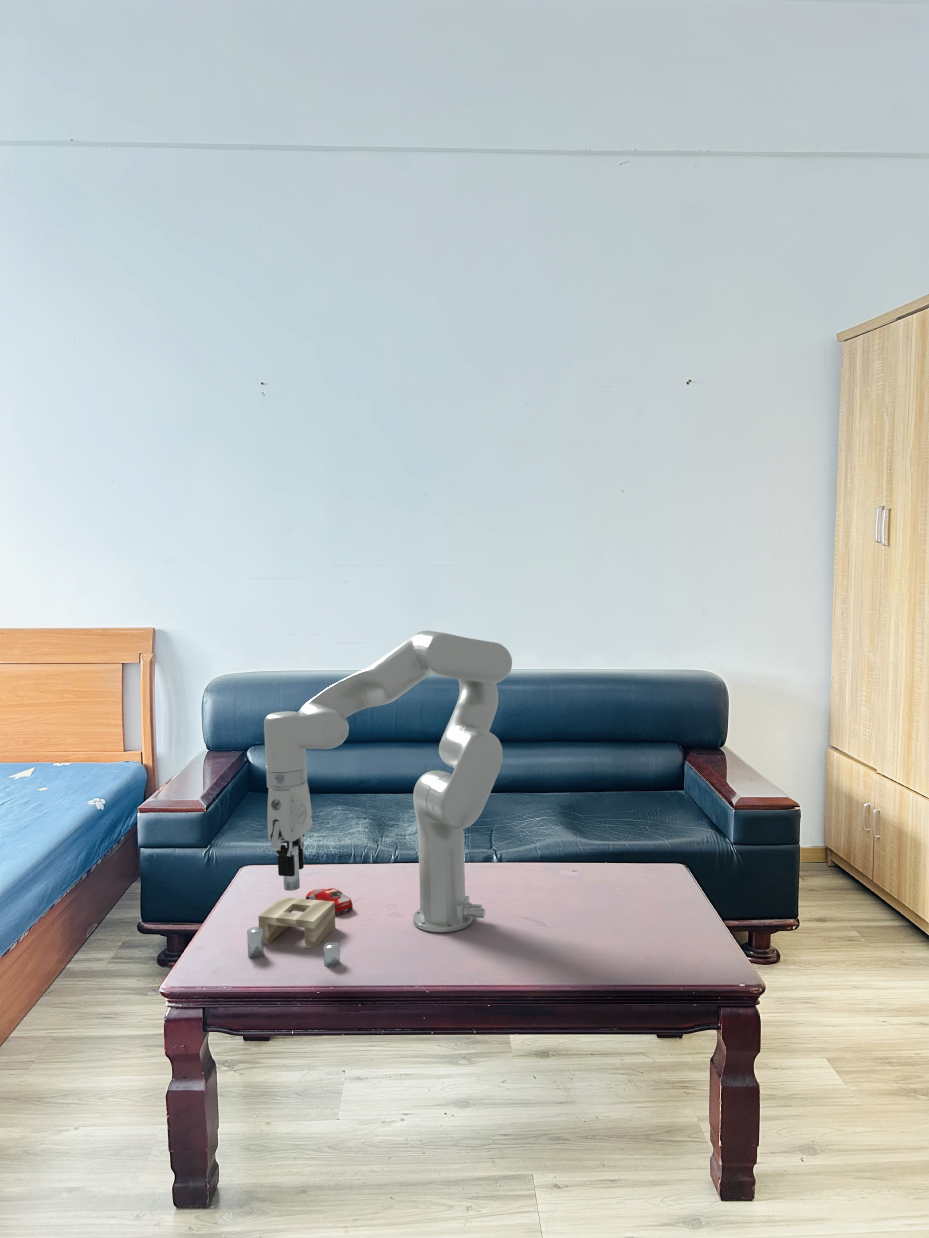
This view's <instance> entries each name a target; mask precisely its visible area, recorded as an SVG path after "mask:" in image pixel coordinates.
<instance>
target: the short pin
mask: <svg viewBox="0 0 929 1238" xmlns="http://www.w3.org/2000/svg"><path fill="white" fill-rule="evenodd" d="M340 947H341V946H340V943H339V942H336V941H335V942H334V941H330V942H326V943H324V944H323V965H324V966H325V967H327V968H334V967H338V966H339V965H340V964H341V951H340V950H341V949H340Z"/></svg>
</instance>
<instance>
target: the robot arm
mask: <svg viewBox="0 0 929 1238" xmlns="http://www.w3.org/2000/svg"><path fill="white" fill-rule="evenodd" d="M512 667H513V659H512V656H511V653H510V651H509V650H508V649H507V648H506V647H505V645H503V644H501V643H499V642H494V641H490V640H489V641H488V640H482V639H476V638H470V637H465V636H461V635H457V634H456V635H454V634H452V633H447V632H440V631H432V630H422V631H419V632H416V633H415V634H413V635H411V636H410V637H408V638H407V639H405V641H403V642H401V643H400V644H399V645H397V646H396V647H394V648H393V649H392V650H390V651H389V652H387V653H386V654H385V655H384V656H382V657H381V658H379V659H378V660H377V661H374V663H372V664H371V665H369V666H368V667H366V668H363V669H362V670H358V671H357V672H355V673H353V674H352V675H350V676H348V677H346V678H343V679H340V680H339V681H338V682H335V683H334V684H332V685H329V687H327V688H325V689H324V690H322V691H321V692H319V693H318V694H317V695H316V696H314V697H312V698H311V699H310V700H308V701H307V702H306V703H304V704H303V705H302V706H301V707H300V709H299V710H298V711H289V710H286V711H276V712H271V713H269V714H268V715H266V717H265V718H264V721H263V727H264V728H263V729H264V731H263V732H264V733H263V735H264V751H265V752H264V753H265V769H266V771H265V772H266V776H265V777H266V788H268V794H267V813H266V814H267V815H266V816H267V833H268V839H269V840H270V841H271V842H270V849H271V850H273V851H275V854H276V856H277V869H278V870H277V873H278V876H279V877H283V876H291V877H293V876H294V875H295V862H294V855H292V844H296V845H298V858H299V870H303V869H304V868H305V866H304V865H305V864H304V844H305V843H304V842H305V839H304V838H305V837H304V836H305V835H306V833H308V832H309V831H310V830H311V829H312V827H313V816H312V815H313V814H312V804H311V794H310V788H309V784H308V769H307V768H308V767H307V751H306V750H309V749H310V750H312V749H313V750H314V749H317V750H328V749H329V750H330V749H334V748H337V747H339V746H340V745H342V744H343V743H344V741H346V739H347V738H348V736H349V730H350V727H349V722H348V720H347V719H346V718H348V717H349V716H352V715H354V714H355V713H357V712H359V711H362V710H364V709H369V708H371V707H372V708H374V707H380V706H384V705H387V704H390V703H392V702H395V701H396V700H397V699H399V698H400V697H401V696H403V695H404V694H405V693H407V692H408V691H409V690H411V689H412V688H413V687H415V686H416V685H417V684H419V683H420V682H421V681H423V680H424V679H426V678H427V677H428V676H430V675H431V674H432V675H435V676H440V677H445V678H451V679H456V680H457V681H458V686H459V694H458V698H457V701H456V704H455V707H454V710H453V713H452V714H451V717H450V719H449V721H448V723H447V725H446V728H445V730H444V733H443V734H442V737H441V740H440V742H439V746H438V754H439V757H440V759H441V760H442V762H443V763H445V764H446V765H447V766H449V767H451V768H453V769H454V770H453V772H452V773H450V772H447V771H444V770H437V769H435V770H430V771H427V772H425V773H424V774H422V775H421V776H420V777H419V778H418V780H417V782H416V783H415V784H414V785H415V786H414V789H413V795H412V796H413V797H412V799H413V800H412V801H413V807H414V813H415V819H416V824H417V825H416V827H417V837H418V842H417V843H418V866H419V867H418V868H419V869H418V871H419V872H418V873H419V903H420V907H419V909H417V910H416V911H415V912H414V914H413V916H412V919H413V920H412V921H413V924H414V926H416V927H417V928H419V929H420V930H423V931H426V932H431V933H450V932H456V931H460V930H463V929H466V928H467V927H469V926H470V925H471V924H472V923H473V921H474V918H478V919H484V918H485V917H486V909H485V908H484V907H483V904H479V903H478V904H477V903H476V904H475V903H474V904H472V902H470V896H469V895H466V880H465V879H466V877H465V875H466V873H465V837H464V836H465V835H464V829H466V828H469V827H471V826H472V825H473V824H474V823H475V822H476V821H477V820H478V818H479V817H480V816H481V814H482V812H483V811H484V809H485V806H486V804H487V802H488V799H489V797H490V794H491V792H492V789H493V788H494V785H495V783H496V780H497V778H498V775H499V773H500V770H501V768H502V767H501V766H502V764H503V757H504V755H503V754H504V753H503V746H502V744H501V742H500V739H499V738H498V737H497V736H496V735H495V734H494V733H492V732H490V730H491V727H492V724H493V722H494V719H495V716H496V713H497V710H498V706H499V692H498V691H499V690H498V686H497V684H498V683H501V682H502V681H504V680H505V679H506V678H507V677H508V676H509V674H510V673H511V670H512ZM282 837H283V838H282ZM285 844H286V845H287V847H286V846H285Z"/></svg>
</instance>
